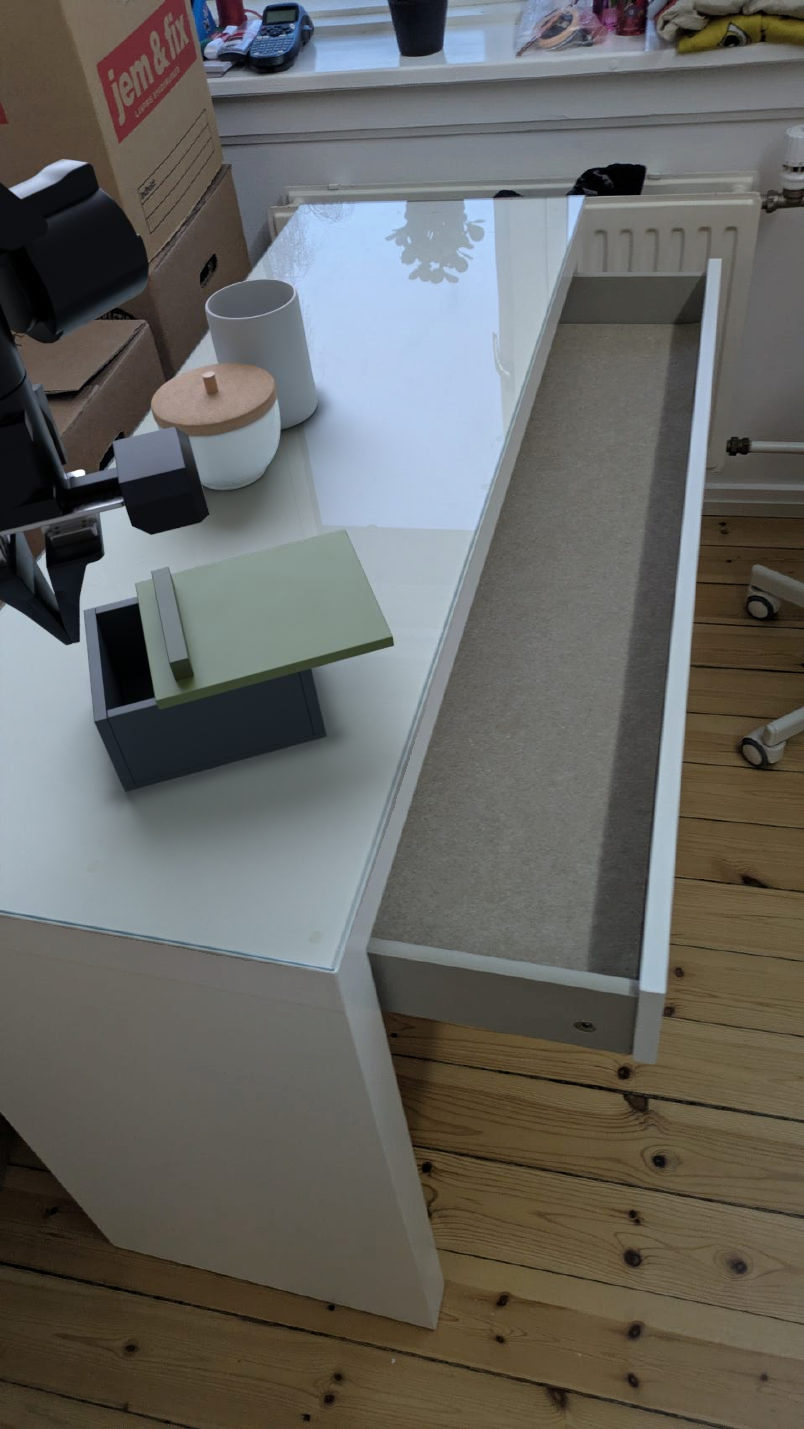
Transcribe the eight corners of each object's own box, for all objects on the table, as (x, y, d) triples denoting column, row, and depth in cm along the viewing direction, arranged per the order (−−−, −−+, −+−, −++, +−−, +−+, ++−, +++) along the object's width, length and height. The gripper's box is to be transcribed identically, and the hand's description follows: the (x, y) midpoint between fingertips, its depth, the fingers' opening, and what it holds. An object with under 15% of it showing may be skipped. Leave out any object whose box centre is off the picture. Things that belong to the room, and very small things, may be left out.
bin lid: (158, 710, 67) (148, 683, 65) (137, 592, 75) (128, 565, 74) (394, 646, 68) (390, 617, 67) (346, 538, 77) (342, 510, 76)
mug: (316, 427, 102) (295, 313, 94) (226, 437, 102) (198, 325, 95) (320, 366, 110) (301, 257, 103) (237, 376, 111) (212, 268, 103)
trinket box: (301, 437, 101) (281, 340, 94) (280, 503, 93) (258, 403, 87) (189, 442, 102) (163, 348, 96) (160, 508, 95) (129, 410, 88)
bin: (124, 792, 71) (94, 721, 66) (111, 679, 79) (83, 610, 75) (327, 736, 73) (310, 664, 68) (293, 631, 81) (276, 560, 76)
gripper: (145, 278, 58) (214, 523, 69) (-216, 358, 56) (-86, 598, 67) (169, 369, 50) (242, 630, 61) (-251, 466, 48) (-97, 718, 59)
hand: (72, 639), depth 62 cm, fingers closed
